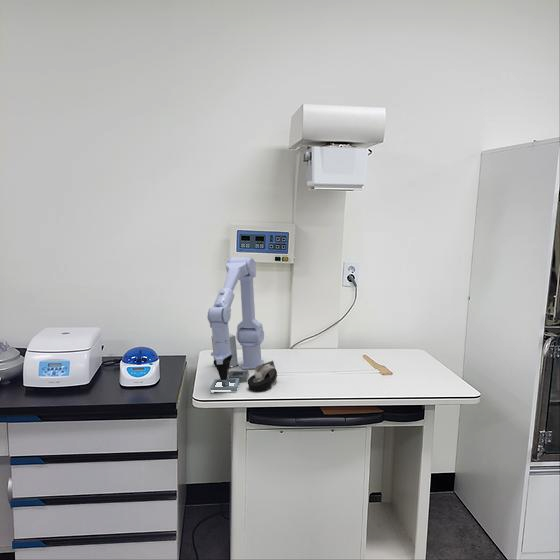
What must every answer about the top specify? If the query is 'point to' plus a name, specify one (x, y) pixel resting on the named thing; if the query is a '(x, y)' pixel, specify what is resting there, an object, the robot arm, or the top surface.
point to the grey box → (232, 349)
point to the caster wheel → (263, 377)
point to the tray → (232, 388)
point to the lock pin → (225, 381)
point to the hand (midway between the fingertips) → (224, 377)
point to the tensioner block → (239, 375)
